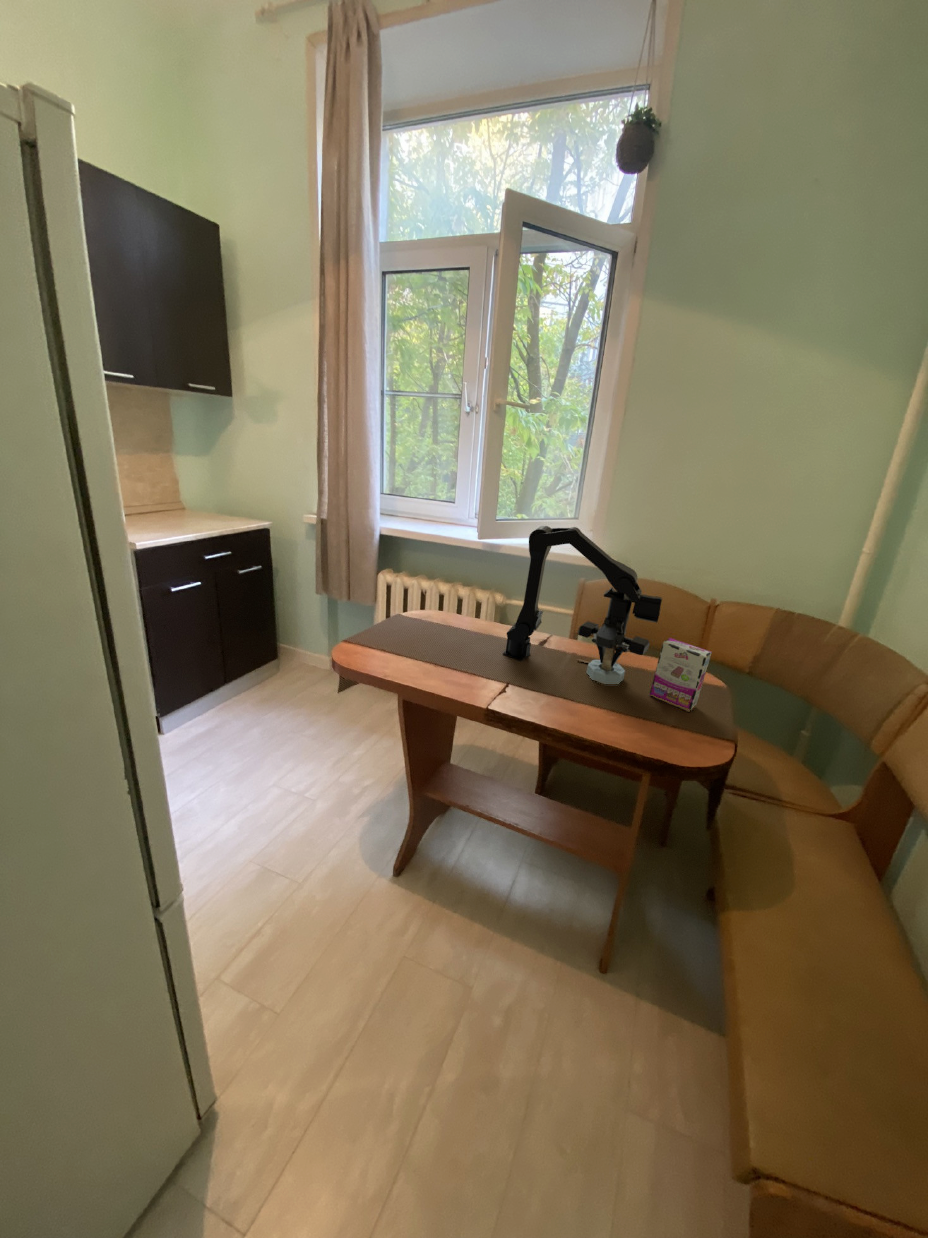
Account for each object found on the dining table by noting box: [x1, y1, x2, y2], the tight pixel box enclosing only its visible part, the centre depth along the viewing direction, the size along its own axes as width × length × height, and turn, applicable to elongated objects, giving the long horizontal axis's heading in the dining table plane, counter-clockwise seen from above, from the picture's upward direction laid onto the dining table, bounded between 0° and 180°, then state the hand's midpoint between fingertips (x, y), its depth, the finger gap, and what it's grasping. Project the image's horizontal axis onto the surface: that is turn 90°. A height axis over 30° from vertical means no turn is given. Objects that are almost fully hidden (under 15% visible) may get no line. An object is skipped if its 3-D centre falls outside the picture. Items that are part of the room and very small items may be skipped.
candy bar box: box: [649, 637, 712, 711], centre depth 127 cm, size 11×5×16 cm, turn 47°
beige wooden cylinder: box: [601, 645, 618, 671], centre depth 138 cm, size 3×3×10 cm
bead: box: [585, 659, 626, 685], centre depth 139 cm, size 10×10×3 cm
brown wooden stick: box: [577, 658, 591, 665], centre depth 146 cm, size 12×1×1 cm, turn 67°
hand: (607, 664), depth 138 cm, fingers closed on beige wooden cylinder, 3 cm apart
